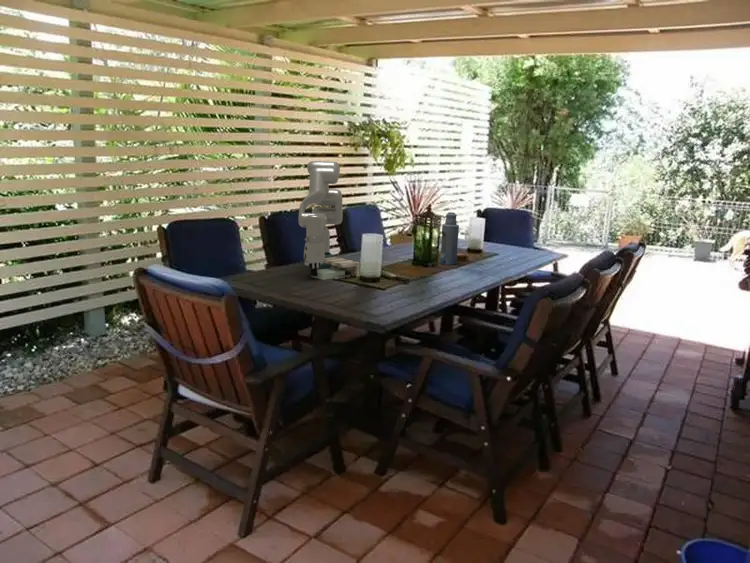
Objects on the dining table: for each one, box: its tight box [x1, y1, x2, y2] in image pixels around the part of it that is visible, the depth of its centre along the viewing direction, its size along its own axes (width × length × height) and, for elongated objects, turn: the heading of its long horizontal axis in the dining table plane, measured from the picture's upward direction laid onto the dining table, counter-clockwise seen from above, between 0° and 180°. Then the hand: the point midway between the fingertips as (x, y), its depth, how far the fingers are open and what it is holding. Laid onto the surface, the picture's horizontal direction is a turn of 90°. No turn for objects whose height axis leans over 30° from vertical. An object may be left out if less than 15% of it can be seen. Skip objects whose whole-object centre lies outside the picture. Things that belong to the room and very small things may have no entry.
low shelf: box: [324, 256, 361, 280], centre depth 305 cm, size 20×14×8 cm
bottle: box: [439, 211, 460, 266], centre depth 343 cm, size 10×10×30 cm
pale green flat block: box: [310, 267, 345, 281], centre depth 302 cm, size 10×14×3 cm
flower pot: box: [317, 252, 334, 270], centre depth 318 cm, size 9×9×9 cm
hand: (313, 275), depth 296 cm, fingers closed
